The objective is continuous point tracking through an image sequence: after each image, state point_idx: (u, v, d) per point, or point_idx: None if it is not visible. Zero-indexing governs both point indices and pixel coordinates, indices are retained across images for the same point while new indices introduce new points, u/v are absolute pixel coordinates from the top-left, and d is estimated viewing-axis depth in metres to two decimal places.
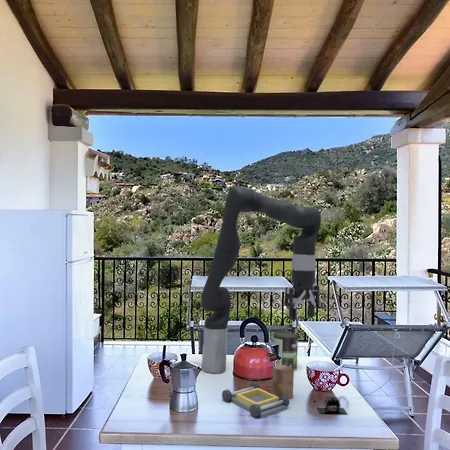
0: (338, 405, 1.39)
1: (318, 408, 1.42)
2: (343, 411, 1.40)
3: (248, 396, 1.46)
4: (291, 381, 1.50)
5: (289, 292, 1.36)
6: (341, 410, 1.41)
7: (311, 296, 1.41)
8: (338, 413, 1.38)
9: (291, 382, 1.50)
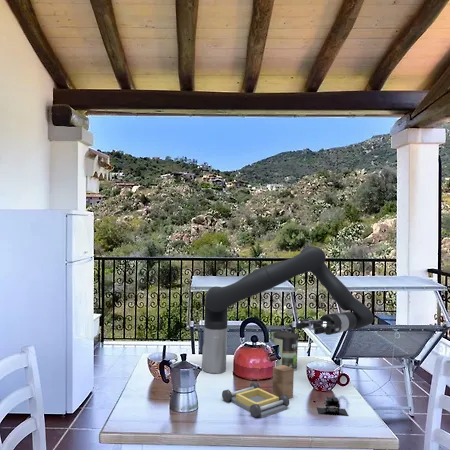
0: (338, 406, 1.38)
1: (318, 408, 1.42)
2: (343, 412, 1.39)
3: (248, 396, 1.46)
4: (291, 381, 1.50)
5: (337, 331, 1.57)
6: (341, 411, 1.40)
7: (313, 329, 1.64)
8: (337, 413, 1.38)
9: (291, 382, 1.50)
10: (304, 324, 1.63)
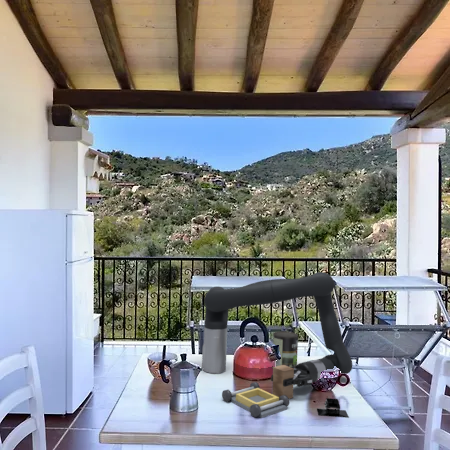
0: (338, 407, 1.37)
1: (319, 409, 1.41)
2: (344, 413, 1.38)
3: (248, 396, 1.46)
4: None
5: (309, 383, 1.49)
6: (342, 412, 1.39)
7: None
8: (338, 415, 1.37)
9: None
10: None
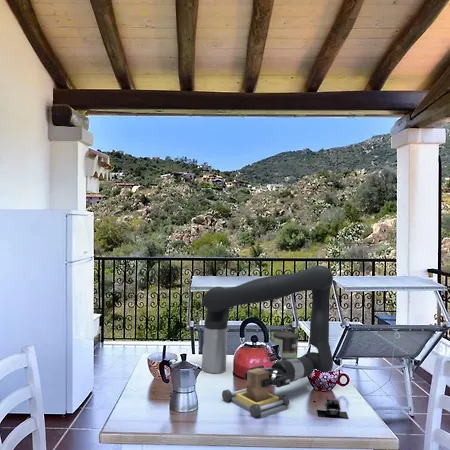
0: (338, 409, 1.36)
1: (319, 410, 1.40)
2: (344, 415, 1.37)
3: None
4: None
5: (287, 383, 1.42)
6: (342, 414, 1.38)
7: None
8: (338, 416, 1.36)
9: None
10: None
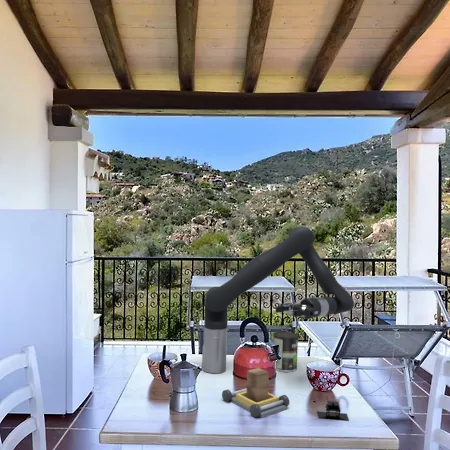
0: (338, 410, 1.35)
1: (319, 412, 1.39)
2: (344, 417, 1.36)
3: None
4: (266, 385, 1.42)
5: (316, 314, 1.58)
6: (342, 416, 1.36)
7: (293, 313, 1.64)
8: (338, 418, 1.34)
9: (266, 386, 1.42)
10: (284, 307, 1.63)
